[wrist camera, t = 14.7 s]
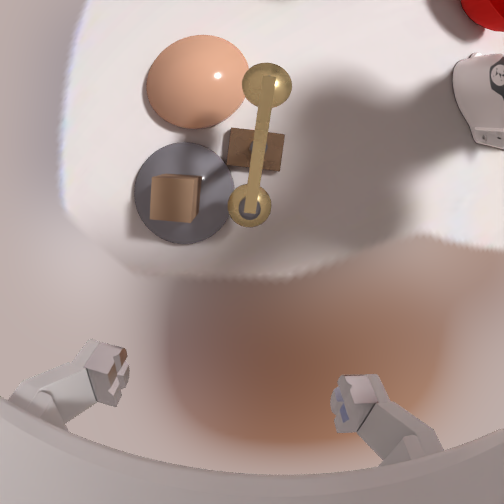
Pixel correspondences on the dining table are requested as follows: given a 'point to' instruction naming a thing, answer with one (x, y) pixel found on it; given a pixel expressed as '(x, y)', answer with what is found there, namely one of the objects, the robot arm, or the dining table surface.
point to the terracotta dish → (197, 81)
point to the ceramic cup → (486, 13)
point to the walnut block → (175, 197)
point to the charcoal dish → (211, 195)
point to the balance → (257, 143)
